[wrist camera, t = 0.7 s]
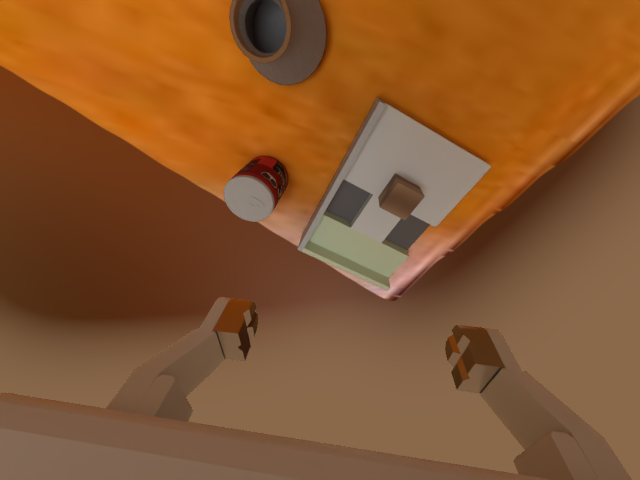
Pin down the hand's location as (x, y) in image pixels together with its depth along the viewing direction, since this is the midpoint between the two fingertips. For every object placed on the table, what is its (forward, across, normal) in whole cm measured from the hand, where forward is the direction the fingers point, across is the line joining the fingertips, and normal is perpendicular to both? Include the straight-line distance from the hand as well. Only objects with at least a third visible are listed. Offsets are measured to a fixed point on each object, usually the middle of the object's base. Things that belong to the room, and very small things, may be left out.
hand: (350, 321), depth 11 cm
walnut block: (+36, -8, +9) cm, 38 cm away
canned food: (+38, +15, +9) cm, 42 cm away
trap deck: (+38, -7, +13) cm, 41 cm away
